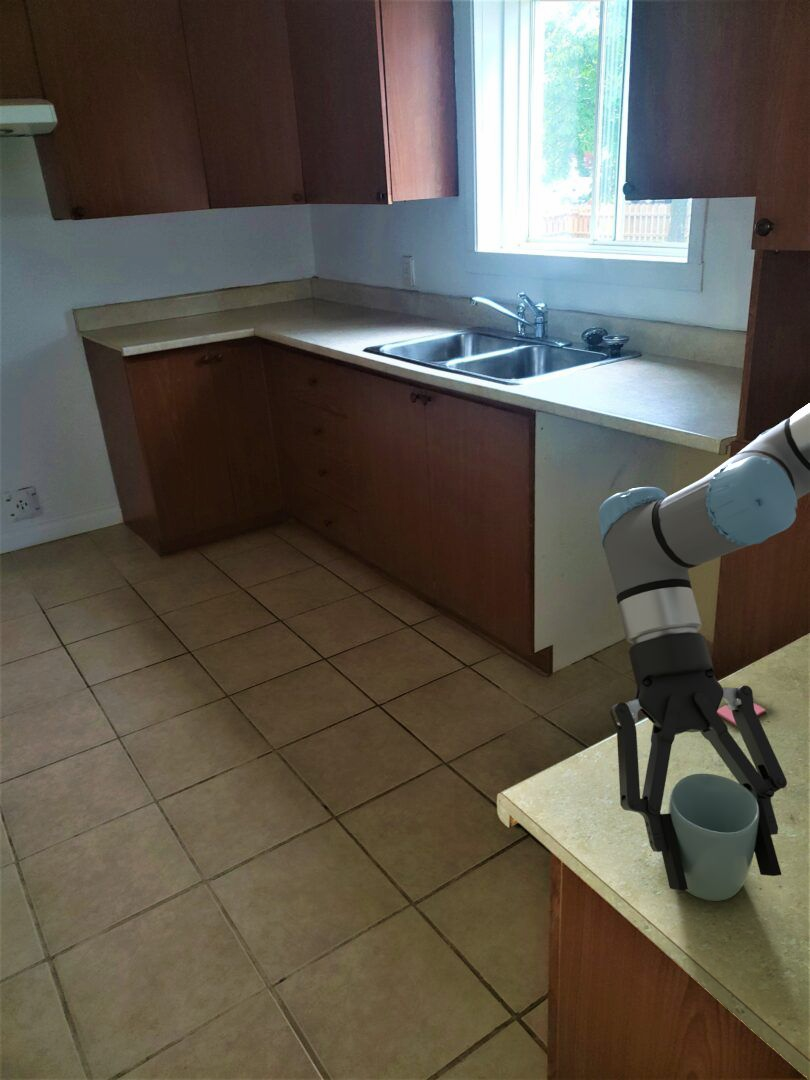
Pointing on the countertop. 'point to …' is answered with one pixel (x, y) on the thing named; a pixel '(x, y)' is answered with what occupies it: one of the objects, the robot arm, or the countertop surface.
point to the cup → (714, 833)
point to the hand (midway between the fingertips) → (725, 881)
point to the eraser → (728, 715)
